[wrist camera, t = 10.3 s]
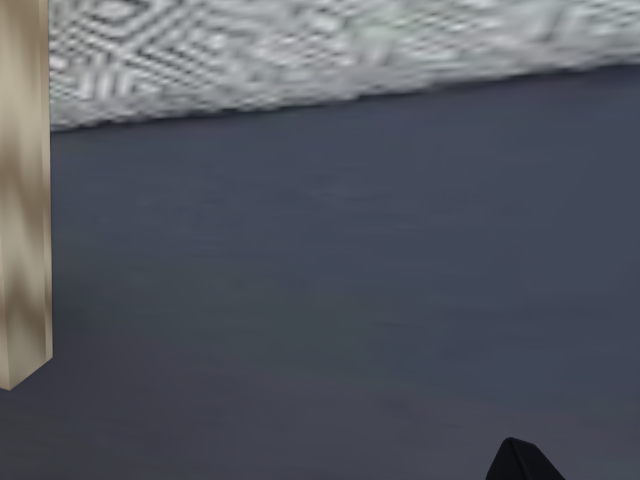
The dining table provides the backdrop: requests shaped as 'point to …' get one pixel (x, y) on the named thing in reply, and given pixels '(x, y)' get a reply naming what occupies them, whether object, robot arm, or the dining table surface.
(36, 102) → the wooden compartment tray
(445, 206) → the dining table surface
